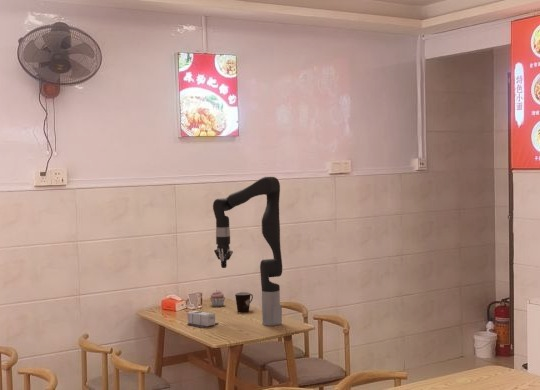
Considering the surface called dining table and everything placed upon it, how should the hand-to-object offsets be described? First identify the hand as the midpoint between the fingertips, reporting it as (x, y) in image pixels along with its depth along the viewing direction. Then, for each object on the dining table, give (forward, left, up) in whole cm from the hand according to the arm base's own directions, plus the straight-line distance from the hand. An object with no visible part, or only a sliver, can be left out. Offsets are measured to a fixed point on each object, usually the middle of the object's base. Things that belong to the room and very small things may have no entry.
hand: (223, 267), depth 375 cm
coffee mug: (+4, -19, -27) cm, 33 cm away
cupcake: (+28, -19, -27) cm, 43 cm away
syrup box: (-11, +18, -24) cm, 32 cm away
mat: (-3, +18, -27) cm, 33 cm away
